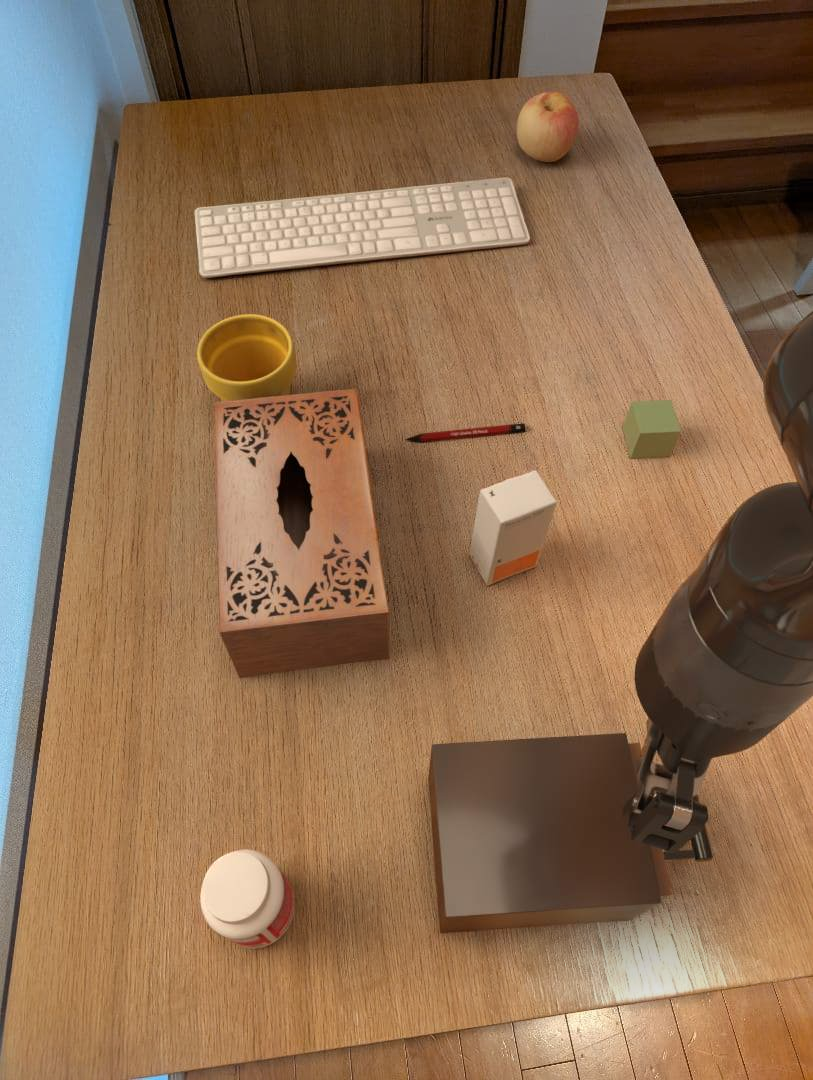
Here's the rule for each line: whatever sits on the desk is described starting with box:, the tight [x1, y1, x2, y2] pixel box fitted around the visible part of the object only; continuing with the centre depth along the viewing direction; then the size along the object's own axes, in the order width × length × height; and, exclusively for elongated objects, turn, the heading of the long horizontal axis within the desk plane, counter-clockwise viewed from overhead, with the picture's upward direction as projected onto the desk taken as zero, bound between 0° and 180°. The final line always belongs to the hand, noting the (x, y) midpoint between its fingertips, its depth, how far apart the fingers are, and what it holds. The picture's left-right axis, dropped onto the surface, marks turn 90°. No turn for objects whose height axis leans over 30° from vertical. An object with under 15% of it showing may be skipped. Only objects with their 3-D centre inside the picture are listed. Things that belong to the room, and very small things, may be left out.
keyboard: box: [194, 177, 531, 279], centre depth 111 cm, size 44×12×2 cm, turn 100°
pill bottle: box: [199, 848, 296, 949], centre depth 63 cm, size 6×6×11 cm
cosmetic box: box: [469, 470, 558, 587], centre depth 80 cm, size 6×4×12 cm
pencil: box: [404, 422, 526, 443], centre depth 93 cm, size 1×14×1 cm, turn 97°
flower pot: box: [196, 313, 297, 402], centre depth 91 cm, size 10×10×10 cm
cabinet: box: [427, 732, 662, 934], centre depth 66 cm, size 16×13×10 cm
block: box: [621, 399, 682, 459], centre depth 91 cm, size 4×4×4 cm
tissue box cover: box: [214, 387, 391, 678], centre depth 81 cm, size 26×14×10 cm, turn 8°
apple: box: [516, 91, 580, 163], centre depth 118 cm, size 9×9×8 cm
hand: (647, 753), depth 54 cm, fingers open, 8 cm apart
